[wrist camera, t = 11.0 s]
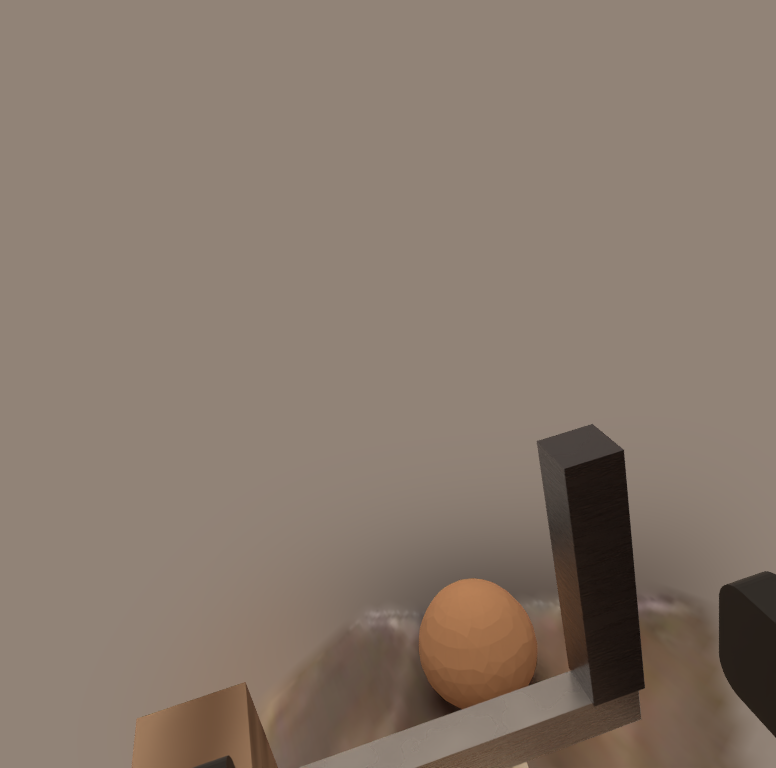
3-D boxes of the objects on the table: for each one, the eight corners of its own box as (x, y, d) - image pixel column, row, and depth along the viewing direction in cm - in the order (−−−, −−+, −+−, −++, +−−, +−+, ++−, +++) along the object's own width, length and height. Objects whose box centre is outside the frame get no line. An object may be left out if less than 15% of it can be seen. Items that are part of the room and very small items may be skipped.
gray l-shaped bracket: (223, 879, 30) (101, 615, 25) (221, 826, 32) (109, 572, 27) (647, 720, 33) (623, 450, 27) (620, 682, 35) (592, 424, 29)
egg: (418, 671, 51) (393, 572, 48) (517, 637, 52) (500, 538, 48) (450, 757, 44) (424, 650, 41) (564, 717, 45) (547, 609, 42)
